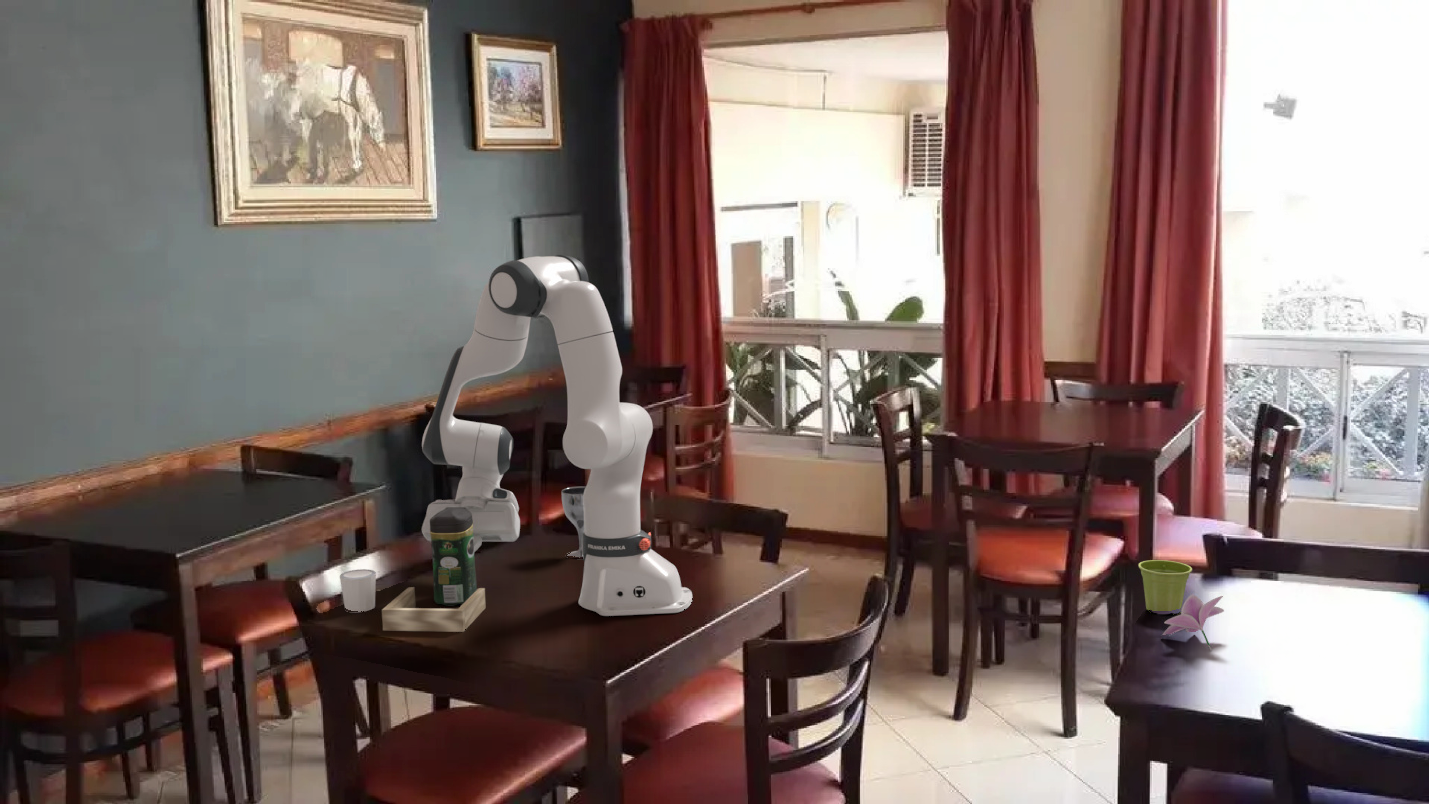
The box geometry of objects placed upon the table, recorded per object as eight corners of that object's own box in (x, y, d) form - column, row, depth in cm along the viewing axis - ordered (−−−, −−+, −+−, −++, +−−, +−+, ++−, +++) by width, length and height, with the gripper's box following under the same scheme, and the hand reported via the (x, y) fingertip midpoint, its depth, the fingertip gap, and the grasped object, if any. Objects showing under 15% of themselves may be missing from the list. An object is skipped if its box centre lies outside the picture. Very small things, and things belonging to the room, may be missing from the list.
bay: (485, 607, 240) (484, 588, 239) (463, 631, 226) (462, 610, 226) (409, 606, 242) (408, 587, 241) (383, 630, 228) (381, 609, 227)
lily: (1234, 644, 215) (1213, 591, 218) (1249, 639, 204) (1226, 584, 207) (1167, 664, 216) (1147, 611, 219) (1178, 660, 205) (1156, 605, 208)
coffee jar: (442, 592, 251) (438, 504, 248) (480, 592, 250) (476, 503, 248) (429, 607, 241) (424, 515, 239) (468, 607, 241) (464, 515, 238)
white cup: (383, 602, 245) (381, 568, 244) (370, 613, 238) (368, 578, 237) (350, 602, 246) (347, 568, 244) (336, 613, 239) (333, 578, 238)
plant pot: (1145, 600, 237) (1146, 557, 235) (1196, 608, 231) (1197, 564, 230) (1130, 613, 229) (1132, 568, 228) (1182, 622, 224) (1184, 576, 222)
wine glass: (564, 551, 281) (561, 487, 279) (599, 549, 282) (596, 485, 279) (563, 560, 273) (561, 494, 271) (599, 558, 274) (597, 493, 272)
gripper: (425, 492, 259) (411, 549, 250) (519, 492, 256) (509, 550, 248) (433, 507, 264) (420, 564, 255) (526, 508, 261) (516, 565, 253)
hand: (465, 557), depth 252 cm, fingers closed
